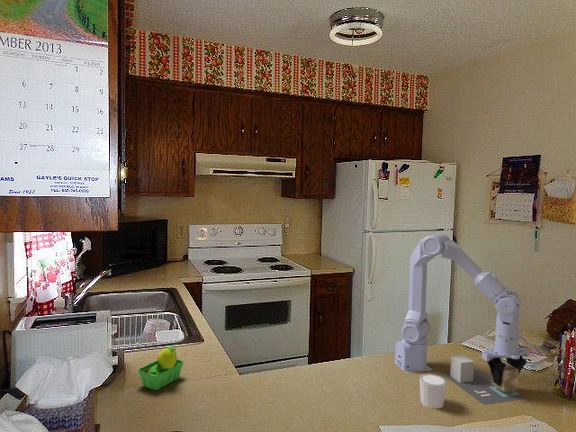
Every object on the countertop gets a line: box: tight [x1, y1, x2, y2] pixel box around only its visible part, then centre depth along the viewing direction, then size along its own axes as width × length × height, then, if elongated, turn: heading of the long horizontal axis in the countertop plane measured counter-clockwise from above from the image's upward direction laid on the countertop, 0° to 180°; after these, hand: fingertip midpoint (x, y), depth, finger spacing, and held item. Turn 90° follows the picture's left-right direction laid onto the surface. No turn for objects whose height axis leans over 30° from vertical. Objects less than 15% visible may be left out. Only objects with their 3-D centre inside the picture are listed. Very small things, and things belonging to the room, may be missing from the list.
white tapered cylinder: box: [419, 373, 448, 410], centre depth 105 cm, size 7×7×7 cm
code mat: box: [441, 368, 528, 406], centre depth 115 cm, size 14×18×1 cm
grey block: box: [449, 355, 475, 383], centre depth 118 cm, size 4×4×6 cm
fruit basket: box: [137, 345, 185, 391], centre depth 114 cm, size 11×9×11 cm
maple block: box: [491, 361, 519, 392], centre depth 111 cm, size 4×4×6 cm
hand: (504, 382), depth 112 cm, fingers closed on maple block, 4 cm apart
